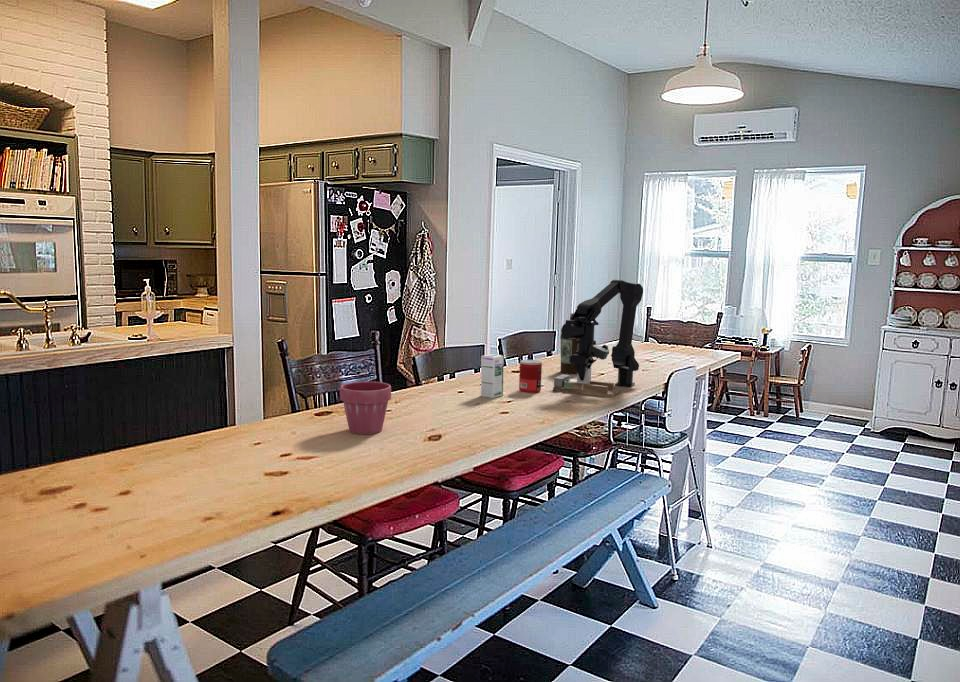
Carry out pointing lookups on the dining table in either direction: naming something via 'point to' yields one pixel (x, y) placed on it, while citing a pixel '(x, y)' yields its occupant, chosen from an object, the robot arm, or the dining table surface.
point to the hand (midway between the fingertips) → (583, 379)
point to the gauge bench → (585, 387)
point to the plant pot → (365, 405)
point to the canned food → (530, 376)
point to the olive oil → (568, 353)
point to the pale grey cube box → (586, 379)
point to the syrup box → (492, 375)
